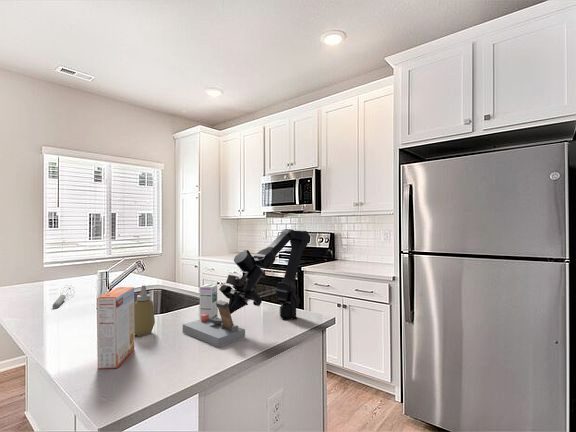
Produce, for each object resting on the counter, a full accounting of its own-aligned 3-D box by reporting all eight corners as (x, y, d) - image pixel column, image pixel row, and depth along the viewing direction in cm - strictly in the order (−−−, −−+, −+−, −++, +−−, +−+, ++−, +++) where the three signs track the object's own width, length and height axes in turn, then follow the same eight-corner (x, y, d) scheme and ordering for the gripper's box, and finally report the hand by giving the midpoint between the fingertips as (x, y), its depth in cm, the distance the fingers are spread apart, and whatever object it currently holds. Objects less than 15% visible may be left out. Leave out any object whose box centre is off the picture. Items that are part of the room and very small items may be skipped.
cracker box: (116, 350, 109) (116, 286, 110) (135, 349, 110) (135, 286, 110) (95, 369, 96) (95, 296, 96) (117, 369, 96) (117, 296, 96)
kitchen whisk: (46, 310, 155) (46, 297, 155) (63, 295, 186) (63, 284, 186) (61, 309, 157) (62, 296, 157) (76, 294, 188) (76, 283, 189)
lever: (227, 326, 123) (220, 300, 121) (235, 329, 120) (227, 302, 118) (223, 329, 122) (215, 303, 119) (231, 332, 119) (223, 305, 116)
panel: (208, 324, 136) (208, 312, 136) (245, 337, 122) (245, 324, 122) (182, 332, 127) (182, 319, 127) (218, 347, 112) (218, 333, 112)
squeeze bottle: (131, 338, 120) (132, 288, 120) (130, 331, 127) (131, 284, 127) (156, 335, 123) (156, 286, 123) (153, 328, 131) (154, 282, 131)
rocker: (218, 322, 129) (219, 319, 130) (224, 324, 127) (224, 321, 127) (207, 321, 126) (208, 318, 126) (213, 323, 123) (214, 320, 124)
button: (205, 319, 133) (205, 313, 133) (210, 320, 131) (210, 314, 131) (199, 321, 131) (199, 314, 131) (203, 322, 129) (203, 316, 129)
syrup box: (212, 321, 140) (212, 286, 140) (199, 320, 141) (199, 286, 141) (217, 317, 146) (217, 284, 146) (205, 316, 147) (205, 283, 147)
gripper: (223, 264, 131) (199, 297, 122) (256, 269, 118) (231, 306, 110) (238, 281, 137) (216, 314, 128) (271, 288, 124) (249, 324, 116)
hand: (227, 314), depth 120 cm, fingers closed, pressing on lever
